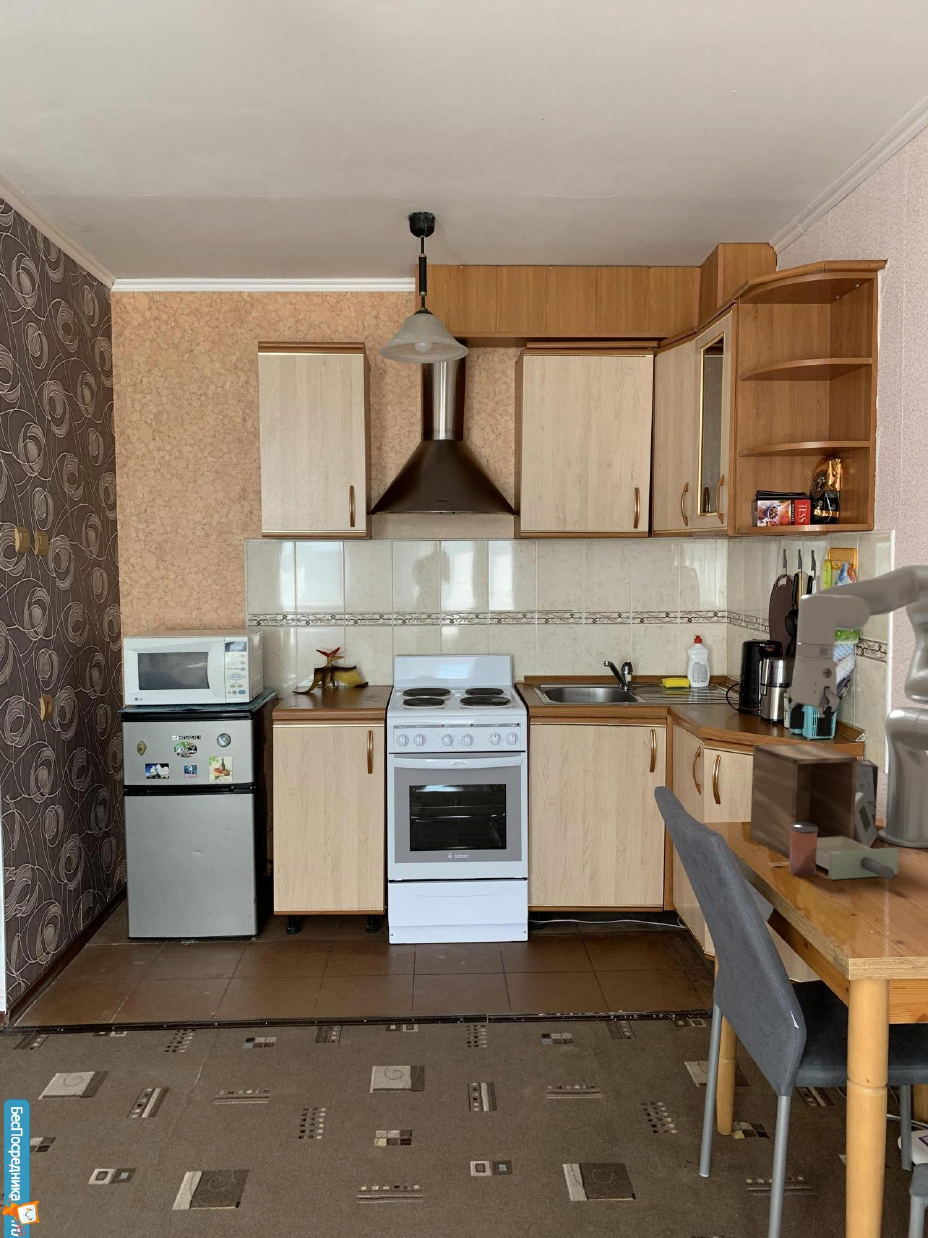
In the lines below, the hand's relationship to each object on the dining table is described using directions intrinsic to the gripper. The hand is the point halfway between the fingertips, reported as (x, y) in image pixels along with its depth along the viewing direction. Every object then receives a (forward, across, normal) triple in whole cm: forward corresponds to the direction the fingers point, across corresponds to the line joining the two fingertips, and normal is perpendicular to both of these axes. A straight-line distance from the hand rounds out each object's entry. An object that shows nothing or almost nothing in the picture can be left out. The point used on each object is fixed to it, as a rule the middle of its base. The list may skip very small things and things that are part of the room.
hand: (809, 732), depth 196 cm
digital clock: (+28, +12, -23) cm, 38 cm away
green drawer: (+28, -5, -9) cm, 30 cm away
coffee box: (+27, +26, -32) cm, 50 cm away
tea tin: (+29, -4, +2) cm, 29 cm away
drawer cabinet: (+28, +13, -8) cm, 32 cm away
